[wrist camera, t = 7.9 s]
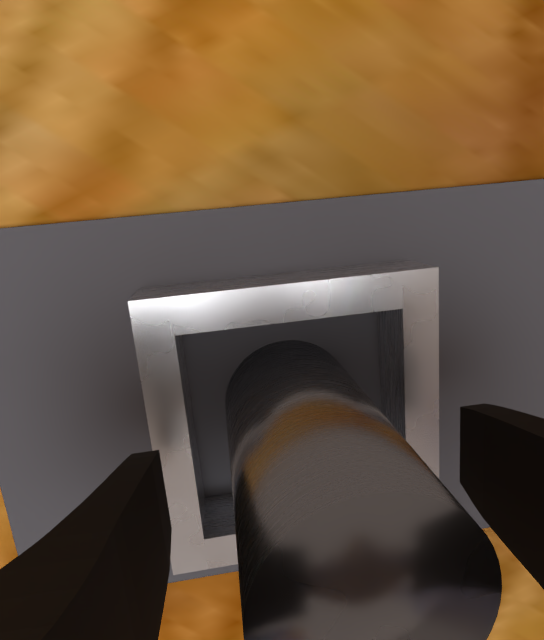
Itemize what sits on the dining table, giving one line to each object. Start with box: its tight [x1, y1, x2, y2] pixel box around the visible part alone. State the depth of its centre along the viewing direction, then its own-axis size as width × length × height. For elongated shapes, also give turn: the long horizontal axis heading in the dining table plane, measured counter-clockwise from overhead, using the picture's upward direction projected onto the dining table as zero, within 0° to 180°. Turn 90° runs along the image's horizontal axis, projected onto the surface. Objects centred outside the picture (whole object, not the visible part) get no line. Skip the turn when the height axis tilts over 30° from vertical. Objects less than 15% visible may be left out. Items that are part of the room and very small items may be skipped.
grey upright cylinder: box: [225, 340, 502, 640], centre depth 11 cm, size 4×4×8 cm
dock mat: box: [0, 179, 544, 583], centre depth 15 cm, size 18×12×1 cm, turn 95°
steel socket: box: [128, 260, 439, 575], centre depth 14 cm, size 8×8×2 cm
